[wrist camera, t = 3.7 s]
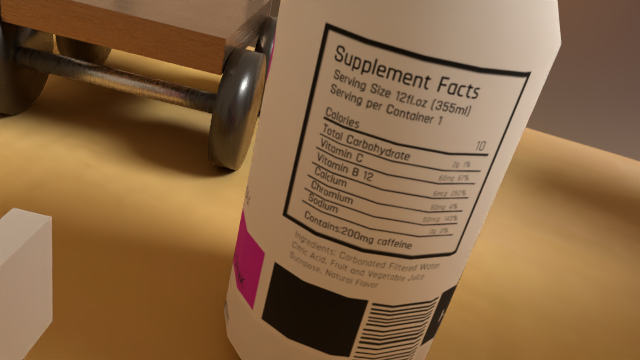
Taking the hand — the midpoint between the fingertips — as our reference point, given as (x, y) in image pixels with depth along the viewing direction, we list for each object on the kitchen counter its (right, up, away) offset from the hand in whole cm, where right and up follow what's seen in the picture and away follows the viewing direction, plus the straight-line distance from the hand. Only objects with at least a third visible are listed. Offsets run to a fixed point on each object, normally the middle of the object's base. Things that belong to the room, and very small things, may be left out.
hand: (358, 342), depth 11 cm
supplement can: (-1, -3, +11) cm, 12 cm away
